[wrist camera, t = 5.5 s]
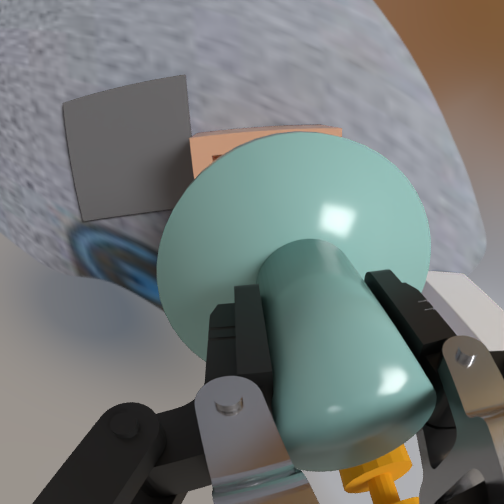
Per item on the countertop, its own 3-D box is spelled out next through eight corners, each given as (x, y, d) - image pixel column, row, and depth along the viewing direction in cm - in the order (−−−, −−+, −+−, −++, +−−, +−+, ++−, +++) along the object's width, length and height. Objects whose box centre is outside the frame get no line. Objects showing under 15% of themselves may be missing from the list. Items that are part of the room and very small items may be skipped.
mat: (65, 103, 20) (62, 103, 19) (185, 75, 20) (184, 74, 19) (85, 219, 24) (83, 221, 23) (199, 204, 24) (199, 206, 24)
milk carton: (391, 327, 31) (474, 474, 14) (414, 268, 28) (535, 412, 11) (439, 325, 32) (524, 447, 14) (462, 271, 29) (573, 388, 12)
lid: (140, 147, 9) (1, 218, 3) (427, 133, 10) (588, 185, 3) (189, 376, 14) (177, 517, 7) (397, 349, 14) (458, 463, 8)
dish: (198, 132, 22) (189, 137, 17) (319, 124, 22) (341, 128, 17) (211, 245, 26) (207, 275, 21) (321, 235, 26) (340, 262, 21)
